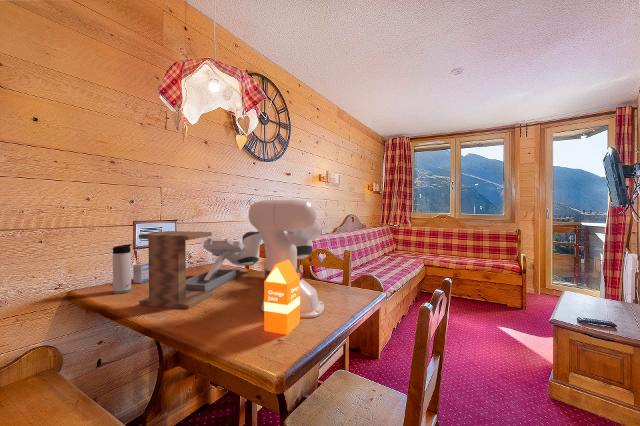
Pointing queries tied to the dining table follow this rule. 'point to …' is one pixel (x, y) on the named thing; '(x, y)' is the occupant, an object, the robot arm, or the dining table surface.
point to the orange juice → (282, 299)
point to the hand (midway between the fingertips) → (217, 239)
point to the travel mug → (121, 269)
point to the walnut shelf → (170, 270)
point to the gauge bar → (216, 266)
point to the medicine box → (141, 272)
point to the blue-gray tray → (218, 280)
